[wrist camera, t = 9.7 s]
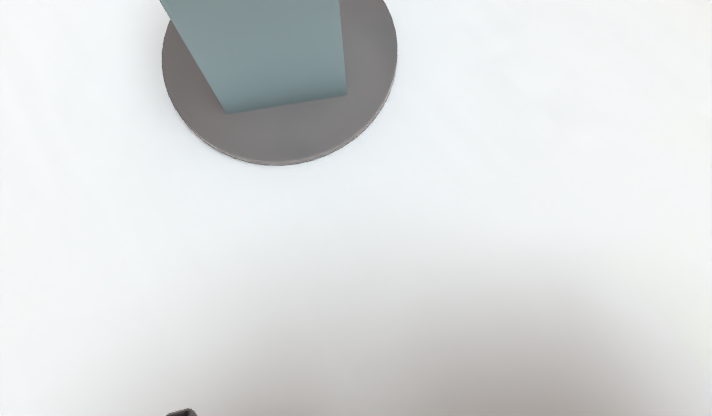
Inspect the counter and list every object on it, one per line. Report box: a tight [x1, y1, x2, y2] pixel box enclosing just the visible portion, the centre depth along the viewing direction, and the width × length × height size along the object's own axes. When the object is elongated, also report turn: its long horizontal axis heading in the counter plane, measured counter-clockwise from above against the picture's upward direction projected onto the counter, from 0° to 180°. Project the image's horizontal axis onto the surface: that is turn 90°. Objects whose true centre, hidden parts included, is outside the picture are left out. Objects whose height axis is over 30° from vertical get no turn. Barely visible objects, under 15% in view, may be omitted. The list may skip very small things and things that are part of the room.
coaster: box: [162, 0, 397, 165], centre depth 24 cm, size 10×10×1 cm
